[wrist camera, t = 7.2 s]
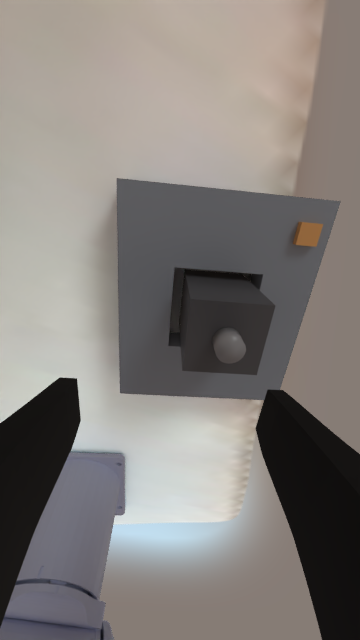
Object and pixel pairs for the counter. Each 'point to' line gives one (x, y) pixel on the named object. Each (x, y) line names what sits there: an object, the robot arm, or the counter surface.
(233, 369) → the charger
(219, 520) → the counter surface
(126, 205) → the plate
